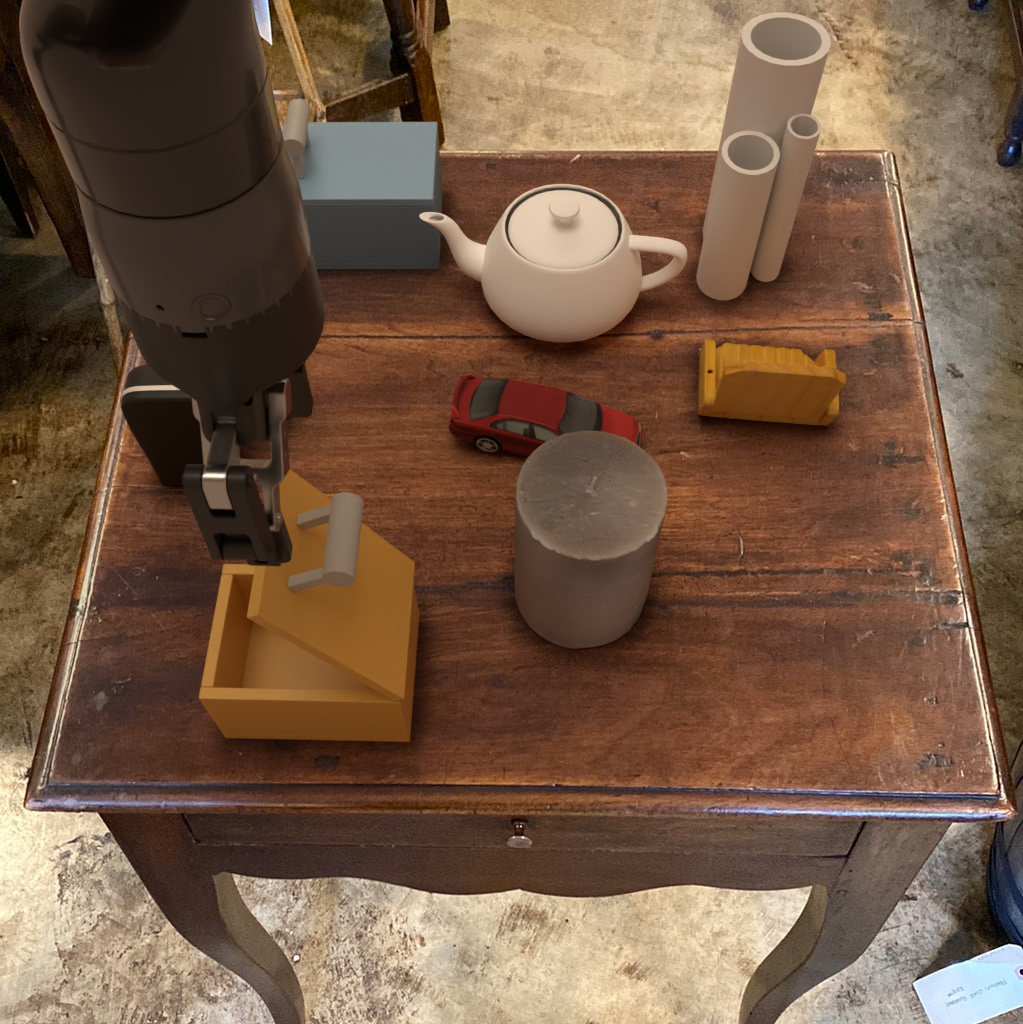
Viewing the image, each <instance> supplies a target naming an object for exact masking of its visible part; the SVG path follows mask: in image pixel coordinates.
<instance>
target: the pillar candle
mask: <svg viewBox="0 0 1023 1024" xmlns="http://www.w3.org/2000/svg"><path fill="white" fill-rule="evenodd" d="M667 487H668V486H667V483H666V478H665V475H664V473H663V471H662V469H661V468H660V466H659V465H658V463H657V462H656V461H655V459H654V458H653V457H652V456H651V455H650V454H649V453H648V452H647V451H645V450H644V449H643V448H642V447H641V446H640V447H639V446H638V445H637V444H635V443H633V442H631V441H629V440H628V439H626V438H625V437H620V436H618V435H614V434H611V433H606V432H603V431H602V432H600V431H578V432H572V433H566V434H563V435H560V436H558V437H556V438H553V439H551V440H548V441H547V442H545V443H543V444H542V445H541V446H539V447H538V448H537V449H536V450H535V451H533V453H532V454H531V455H530V456H527V458H526V459H525V461H524V462H523V464H522V465H521V469H520V470H519V473H518V476H517V479H516V483H515V499H514V500H515V502H514V503H515V504H514V573H513V575H514V577H513V578H514V580H513V581H514V582H513V583H514V585H513V587H514V588H513V591H514V598H515V603H516V606H517V609H518V612H519V614H520V616H521V617H522V619H523V621H524V622H525V623H526V624H527V626H528V627H529V628H530V629H531V630H532V631H533V632H534V633H536V634H537V635H538V636H539V637H541V638H542V639H544V640H545V641H547V642H549V643H551V644H554V645H556V646H559V647H562V648H564V649H565V648H566V649H574V650H575V649H587V648H589V649H590V648H596V647H600V646H604V645H608V644H610V643H612V642H614V641H617V640H619V639H620V638H621V637H623V636H624V635H625V634H627V633H628V632H629V631H631V630H632V627H633V626H634V624H635V623H637V622H638V620H639V618H640V616H641V614H642V611H643V609H644V608H643V607H644V605H645V602H646V599H647V596H648V593H649V589H650V585H651V581H652V577H653V570H654V565H655V560H656V556H657V551H658V548H659V543H660V539H661V533H662V530H663V525H664V521H665V517H666V514H667V508H668V502H669V495H668V488H667Z"/></svg>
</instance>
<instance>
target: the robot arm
mask: <svg viewBox="0 0 1023 1024" xmlns="http://www.w3.org/2000/svg"><path fill="white" fill-rule="evenodd" d="M254 5H255V4H254V0H22V1H21V6H20V10H19V21H18V27H19V28H18V29H19V40H20V41H19V42H20V47H21V54H22V57H23V62H24V64H25V67H26V71H27V73H28V76H29V79H30V82H31V84H32V87H33V89H34V92H35V94H36V97H37V99H38V101H39V104H40V107H41V109H42V110H43V113H44V116H45V118H46V120H47V122H48V125H49V127H50V129H51V132H52V134H53V136H54V138H55V141H56V143H57V146H58V148H59V150H60V153H61V155H62V157H63V160H64V163H65V164H66V166H67V169H68V172H69V173H70V176H71V178H72V181H73V184H74V186H75V190H76V194H77V198H78V202H79V203H78V204H79V208H80V211H81V214H82V219H83V223H84V225H85V228H86V231H87V234H88V236H89V239H90V241H91V243H92V245H93V248H94V250H95V253H96V255H97V257H98V259H99V261H100V264H101V266H102V269H103V271H104V273H105V276H106V277H107V280H108V282H109V284H110V287H111V288H112V291H113V293H114V295H115V298H116V300H117V302H118V305H119V308H120V309H121V312H122V314H123V316H124V318H125V320H126V323H127V326H128V327H129V330H130V333H131V334H132V336H133V340H134V341H135V344H136V346H137V349H138V350H139V353H140V355H141V356H142V358H143V360H144V361H145V363H146V365H149V367H150V368H151V369H152V370H153V371H154V372H155V373H156V374H157V375H158V376H160V377H161V378H162V379H164V380H165V381H166V382H168V383H170V384H171V385H173V386H174V387H176V388H178V389H179V390H181V391H183V392H184V393H186V394H187V395H189V396H190V397H192V406H193V414H194V416H195V418H196V419H197V420H198V421H199V423H200V429H201V441H202V452H203V464H204V465H197V464H187V465H186V466H185V469H184V473H183V475H182V485H181V486H182V488H183V492H184V494H185V497H186V500H187V502H188V504H189V507H190V508H191V511H192V514H193V516H194V519H195V521H196V524H197V526H198V529H199V531H200V534H201V536H202V538H203V541H204V543H205V545H206V548H207V550H208V554H209V556H210V558H211V560H212V561H213V560H214V561H224V560H246V564H248V565H251V566H281V563H287V562H289V561H290V560H291V556H292V549H293V545H292V542H291V539H290V536H289V533H288V530H287V527H286V524H285V521H284V518H283V515H282V512H281V506H280V490H279V484H280V483H281V482H282V481H283V479H284V478H285V476H286V474H287V473H288V471H289V469H290V452H289V451H290V450H289V433H288V418H287V417H289V418H301V419H302V418H309V417H311V416H312V415H313V410H314V397H313V393H312V390H311V384H310V381H309V377H308V372H307V369H306V363H307V360H308V359H309V358H310V357H311V355H312V354H313V352H314V351H315V350H316V347H317V346H318V344H319V342H320V340H321V337H322V334H323V331H324V327H325V318H326V312H325V311H326V309H325V302H324V298H323V293H322V288H321V283H320V278H319V274H318V273H319V272H318V269H317V267H316V263H315V258H314V252H313V248H312V243H311V238H310V233H309V229H308V224H307V219H306V214H305V209H304V204H303V199H302V193H301V188H300V184H299V180H298V176H297V173H296V170H295V168H294V165H293V162H292V159H291V157H290V154H289V152H288V149H287V147H286V144H285V141H284V138H283V134H282V131H283V130H282V127H281V123H280V118H279V117H280V116H279V114H278V113H279V111H278V108H277V103H276V98H275V94H274V90H273V84H272V80H271V74H270V69H269V64H268V60H267V57H266V52H265V47H264V44H263V40H262V36H261V33H260V29H259V26H258V21H257V16H256V11H255V6H254ZM268 443H269V447H270V448H269V449H270V458H268V459H258V458H257V459H255V458H254V459H253V458H245V459H240V450H241V447H242V448H246V447H247V448H248V447H257V446H258V447H259V446H265V445H266V444H268ZM258 486H259V487H260V488H261V490H262V499H261V495H260V492H259V488H258ZM262 500H263V501H262Z"/></svg>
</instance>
